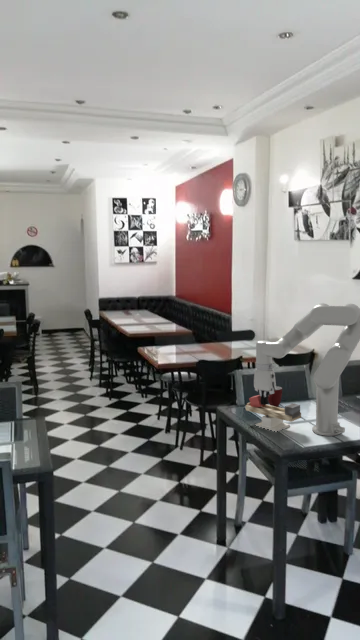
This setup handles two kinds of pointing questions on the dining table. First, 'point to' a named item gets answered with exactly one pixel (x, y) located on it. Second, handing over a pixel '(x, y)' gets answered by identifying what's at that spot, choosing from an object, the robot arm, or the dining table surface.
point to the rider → (255, 401)
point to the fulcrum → (272, 423)
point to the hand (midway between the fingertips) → (264, 404)
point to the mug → (275, 397)
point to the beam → (277, 411)
